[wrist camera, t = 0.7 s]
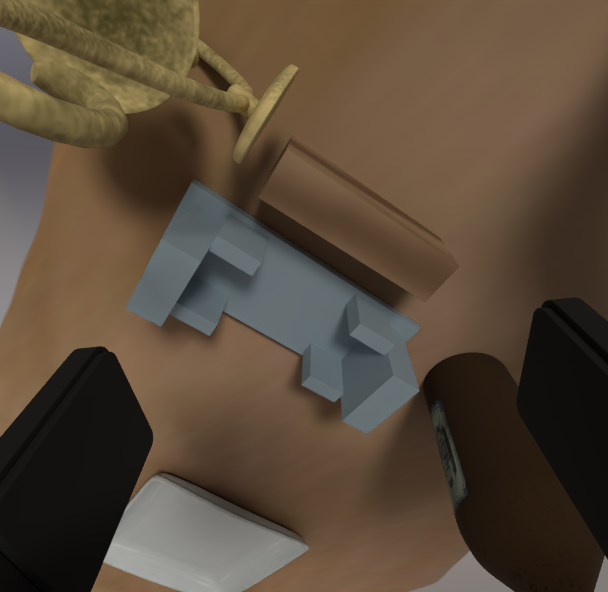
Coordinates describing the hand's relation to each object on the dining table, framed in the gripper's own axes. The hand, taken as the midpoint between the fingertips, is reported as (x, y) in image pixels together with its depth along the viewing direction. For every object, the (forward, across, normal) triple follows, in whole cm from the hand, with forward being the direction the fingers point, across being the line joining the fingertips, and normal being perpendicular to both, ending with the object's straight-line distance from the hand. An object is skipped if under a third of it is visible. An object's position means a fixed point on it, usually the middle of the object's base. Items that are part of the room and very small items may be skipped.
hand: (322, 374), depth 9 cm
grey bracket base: (+27, +4, +13) cm, 30 cm away
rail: (+27, -3, +5) cm, 27 cm away
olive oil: (+27, -14, +27) cm, 41 cm away
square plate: (+29, +26, +57) cm, 69 cm away
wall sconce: (+27, +7, -9) cm, 29 cm away
